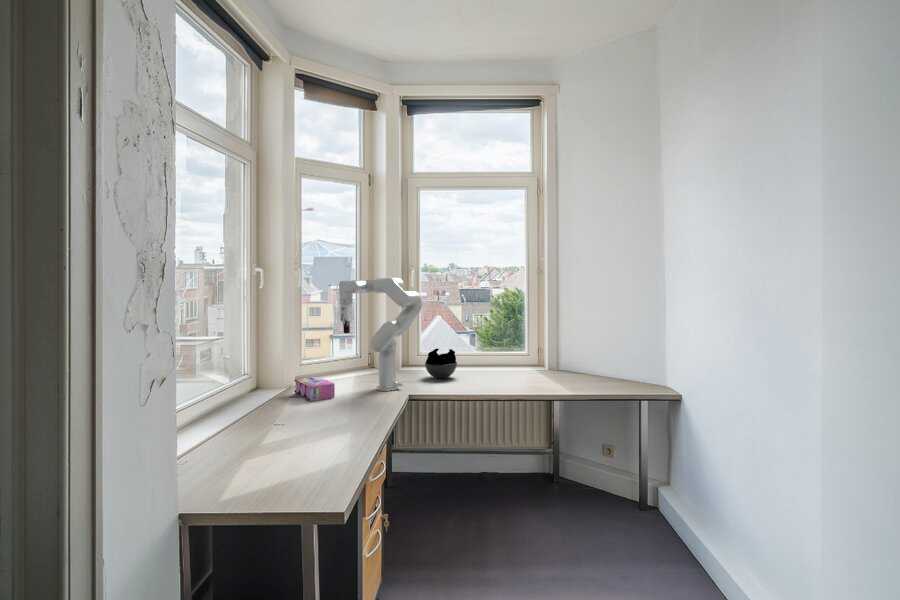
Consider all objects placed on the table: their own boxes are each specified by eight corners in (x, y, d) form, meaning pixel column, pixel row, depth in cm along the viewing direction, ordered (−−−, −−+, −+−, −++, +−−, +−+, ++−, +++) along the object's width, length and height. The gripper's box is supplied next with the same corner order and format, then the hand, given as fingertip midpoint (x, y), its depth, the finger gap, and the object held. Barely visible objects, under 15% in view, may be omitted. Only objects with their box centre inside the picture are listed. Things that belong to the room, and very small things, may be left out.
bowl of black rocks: (418, 378, 314) (418, 348, 313) (442, 374, 327) (442, 345, 326) (439, 383, 299) (439, 351, 298) (463, 378, 313) (463, 348, 312)
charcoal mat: (334, 388, 290) (334, 386, 290) (315, 398, 265) (315, 397, 265) (309, 387, 292) (309, 386, 292) (288, 397, 268) (288, 396, 268)
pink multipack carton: (317, 389, 284) (293, 392, 276) (317, 375, 284) (293, 378, 275) (334, 398, 265) (310, 401, 257) (334, 383, 264) (309, 386, 256)
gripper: (347, 302, 286) (348, 334, 287) (356, 301, 301) (357, 331, 302) (334, 302, 287) (335, 334, 288) (344, 301, 302) (345, 331, 303)
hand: (346, 332), depth 295 cm, fingers closed
